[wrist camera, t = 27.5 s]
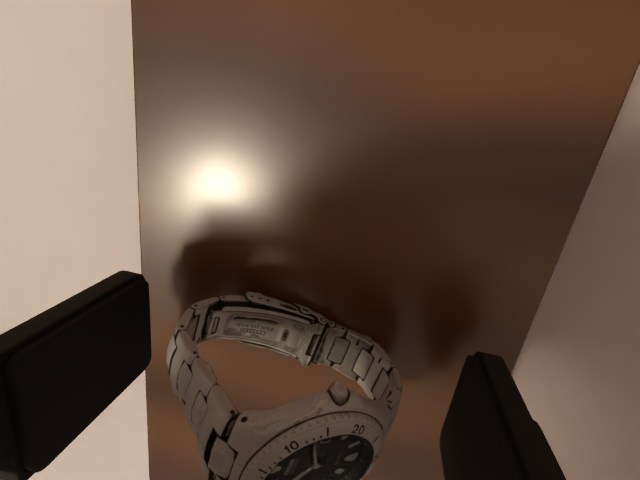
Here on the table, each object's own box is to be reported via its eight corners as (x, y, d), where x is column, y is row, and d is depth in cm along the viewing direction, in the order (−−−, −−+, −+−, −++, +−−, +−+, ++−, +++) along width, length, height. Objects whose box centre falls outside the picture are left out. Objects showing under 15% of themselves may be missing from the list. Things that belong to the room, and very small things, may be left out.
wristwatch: (375, 405, 11) (364, 600, 7) (205, 331, 12) (83, 467, 7) (421, 320, 10) (447, 488, 5) (229, 241, 10) (98, 335, 6)
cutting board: (424, 505, 16) (429, 572, 13) (182, 432, 17) (149, 480, 15) (615, -17, 9) (694, -68, 6) (185, -54, 10) (125, -106, 8)
